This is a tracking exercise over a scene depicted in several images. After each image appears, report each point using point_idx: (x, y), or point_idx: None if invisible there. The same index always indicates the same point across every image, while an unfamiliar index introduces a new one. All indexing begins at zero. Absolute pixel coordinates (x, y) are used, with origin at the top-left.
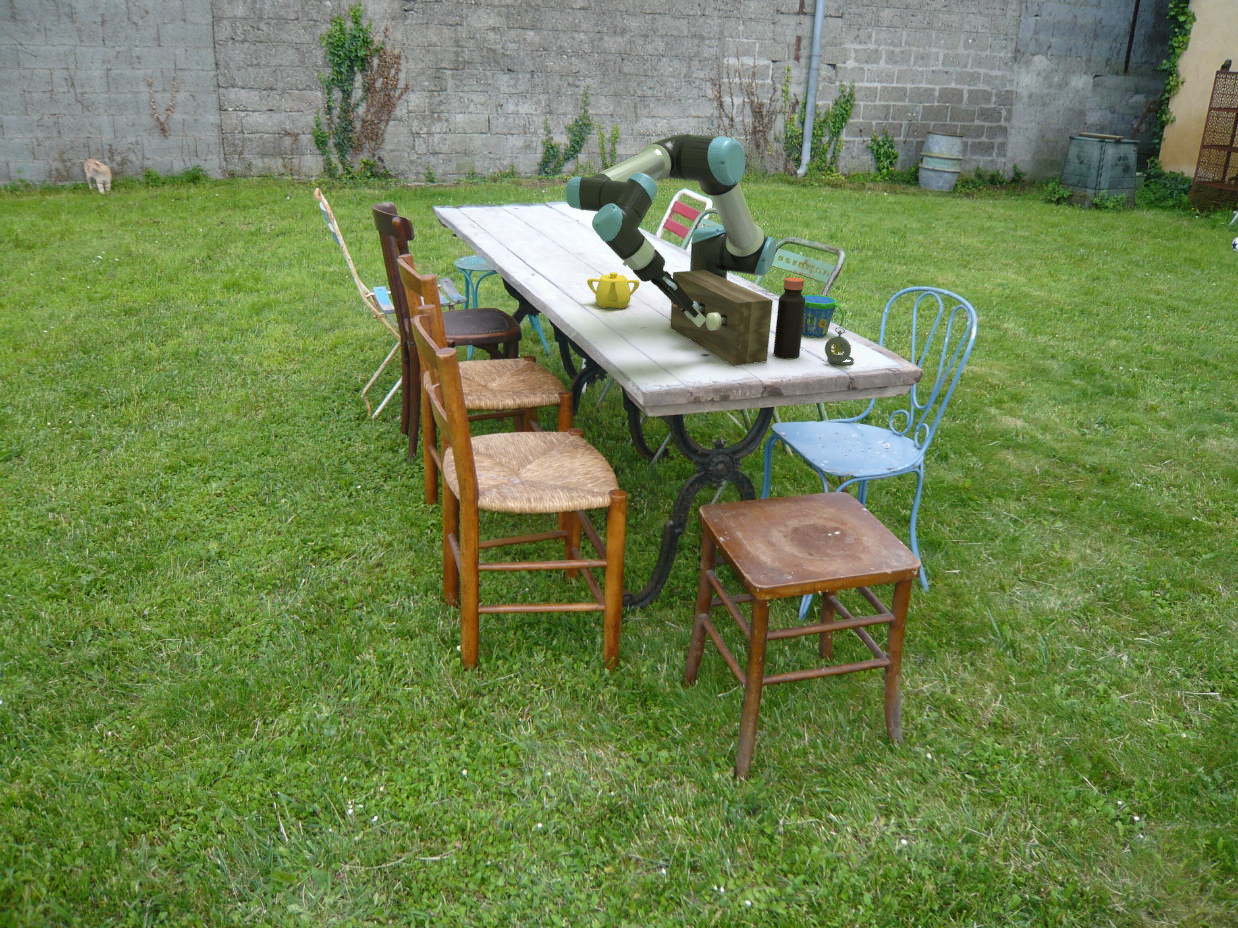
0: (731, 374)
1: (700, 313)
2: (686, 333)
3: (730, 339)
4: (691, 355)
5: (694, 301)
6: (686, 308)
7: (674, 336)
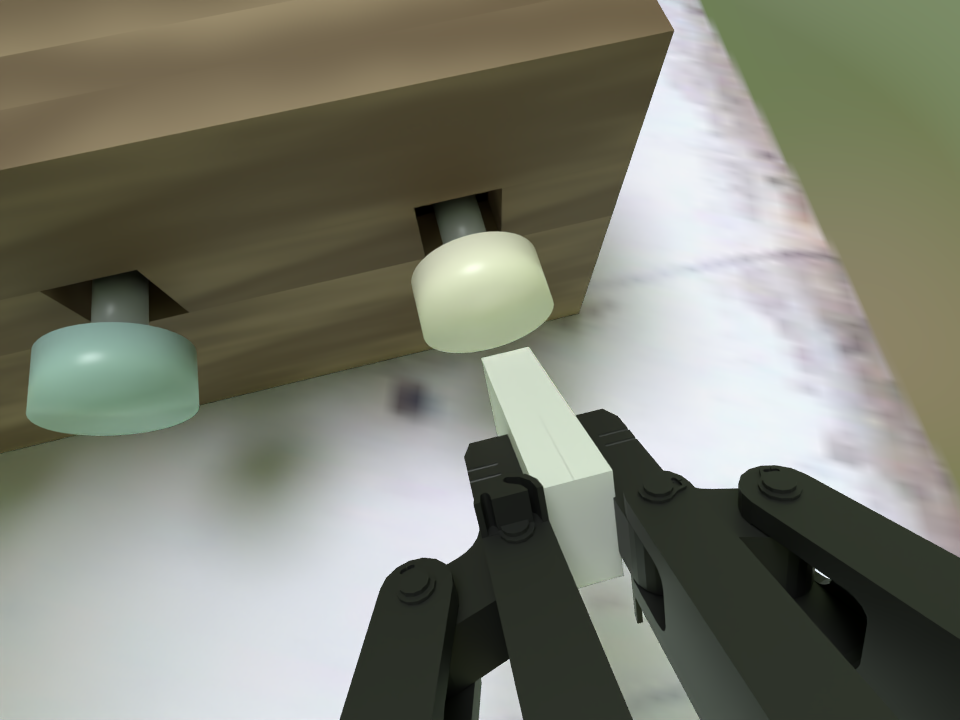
0: (713, 349)
1: (552, 385)
2: None
3: (554, 260)
4: (406, 472)
5: (65, 337)
6: (825, 588)
7: (50, 489)
